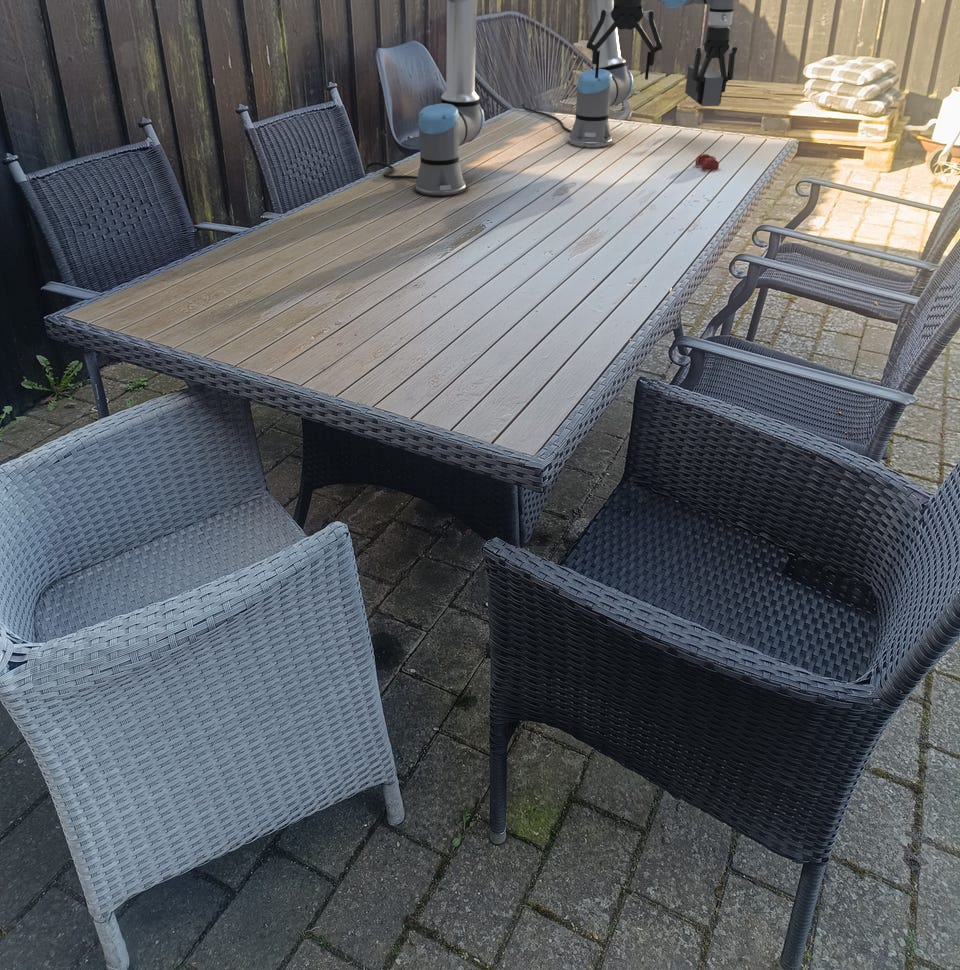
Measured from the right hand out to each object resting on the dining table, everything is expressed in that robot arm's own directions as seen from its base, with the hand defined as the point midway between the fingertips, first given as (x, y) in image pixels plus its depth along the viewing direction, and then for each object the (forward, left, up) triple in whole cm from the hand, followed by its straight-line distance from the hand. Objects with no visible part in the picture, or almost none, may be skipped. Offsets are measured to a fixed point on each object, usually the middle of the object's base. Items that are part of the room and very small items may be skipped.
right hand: (708, 102), depth 287 cm
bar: (-9, 0, -1) cm, 9 cm away
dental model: (+22, -4, -16) cm, 27 cm away
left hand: (+53, -42, +17) cm, 70 cm away
